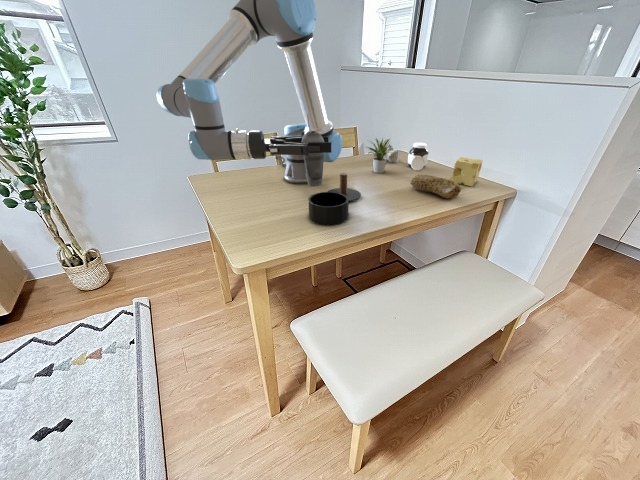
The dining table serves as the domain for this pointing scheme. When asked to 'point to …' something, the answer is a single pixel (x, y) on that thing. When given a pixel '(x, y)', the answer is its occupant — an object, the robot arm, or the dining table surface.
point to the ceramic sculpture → (391, 154)
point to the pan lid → (346, 189)
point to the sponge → (436, 185)
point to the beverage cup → (313, 159)
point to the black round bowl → (328, 208)
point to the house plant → (379, 155)
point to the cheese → (466, 171)
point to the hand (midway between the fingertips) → (329, 144)
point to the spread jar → (418, 156)
